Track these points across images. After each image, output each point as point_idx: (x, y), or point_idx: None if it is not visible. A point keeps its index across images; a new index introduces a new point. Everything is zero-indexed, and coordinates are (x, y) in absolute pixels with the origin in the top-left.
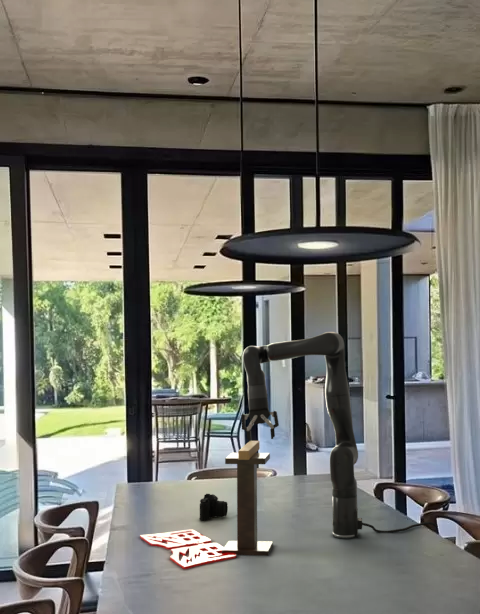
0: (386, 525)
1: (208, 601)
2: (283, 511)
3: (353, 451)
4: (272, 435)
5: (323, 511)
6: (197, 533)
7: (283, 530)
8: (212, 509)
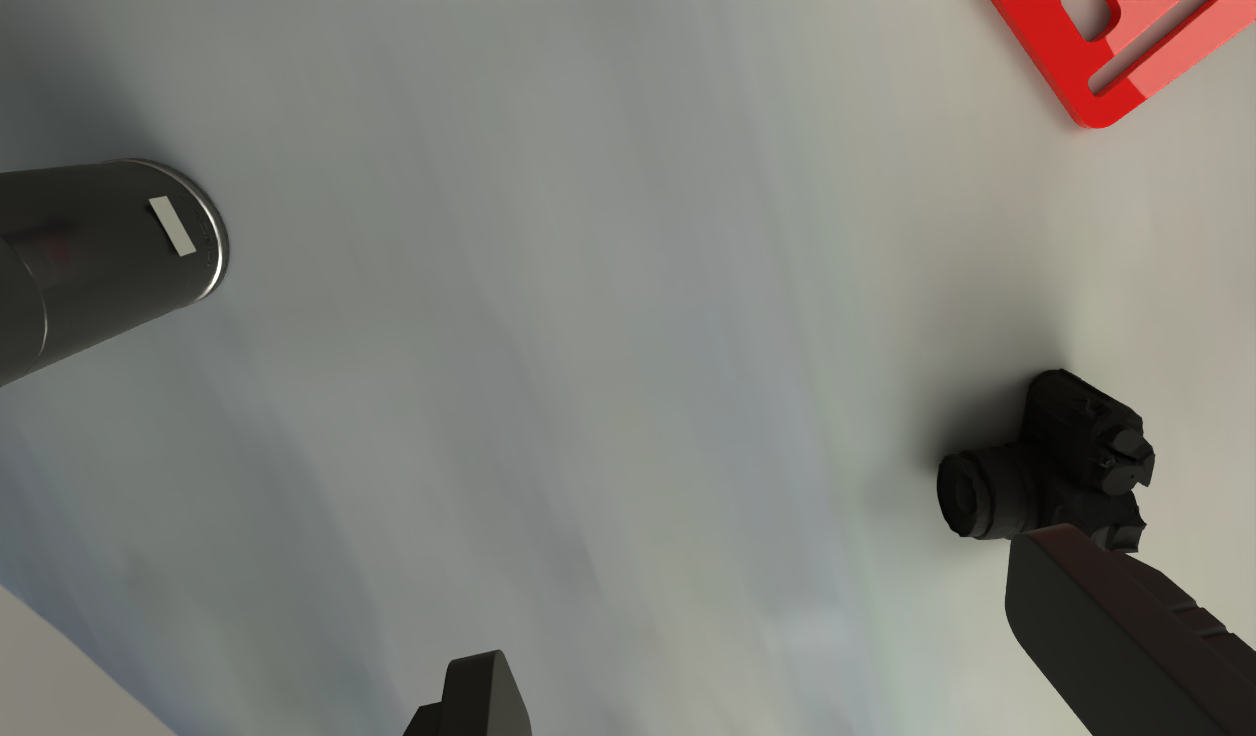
0: (52, 476)
1: None
2: (657, 623)
3: None
4: (440, 727)
5: (462, 654)
6: (1045, 35)
7: (540, 273)
8: (1034, 455)
